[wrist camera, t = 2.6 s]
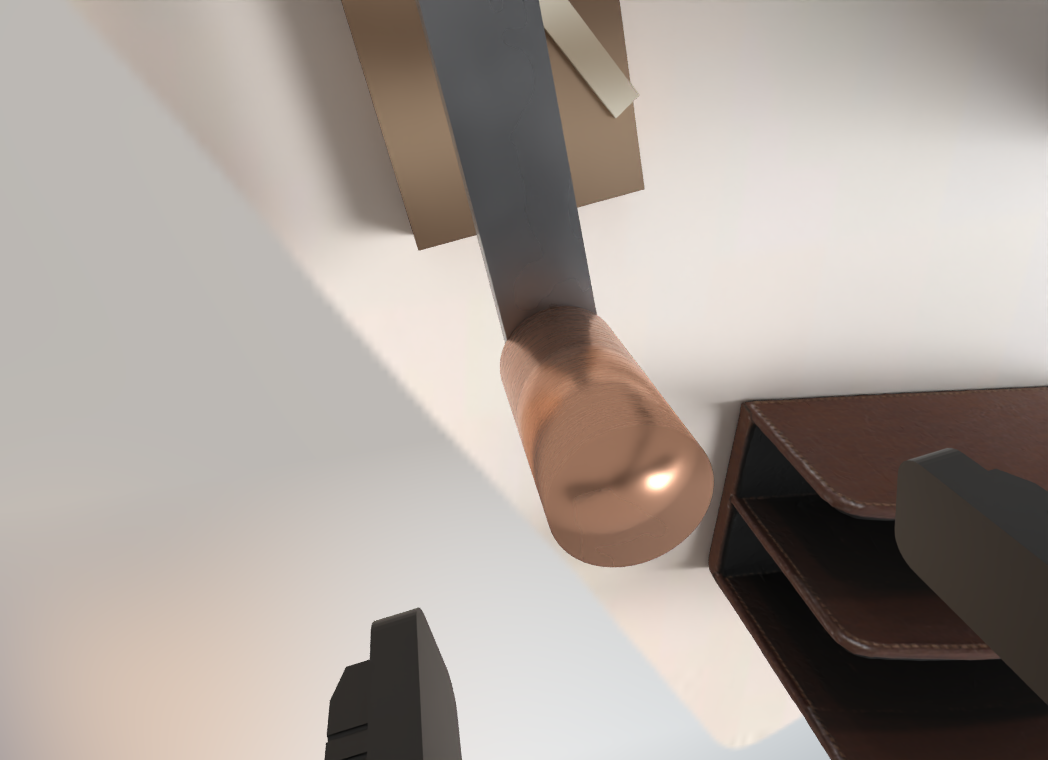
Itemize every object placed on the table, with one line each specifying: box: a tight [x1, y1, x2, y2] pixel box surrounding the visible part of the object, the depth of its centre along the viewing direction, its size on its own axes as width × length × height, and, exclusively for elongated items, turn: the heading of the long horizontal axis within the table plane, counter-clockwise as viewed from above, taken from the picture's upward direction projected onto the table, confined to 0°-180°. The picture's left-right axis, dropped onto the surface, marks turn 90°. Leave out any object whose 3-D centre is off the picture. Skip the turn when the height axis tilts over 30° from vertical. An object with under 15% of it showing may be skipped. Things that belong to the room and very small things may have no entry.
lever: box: [415, 0, 714, 567], centre depth 12 cm, size 17×4×8 cm, turn 13°
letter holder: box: [708, 387, 1048, 760], centre depth 28 cm, size 10×20×14 cm, turn 88°
